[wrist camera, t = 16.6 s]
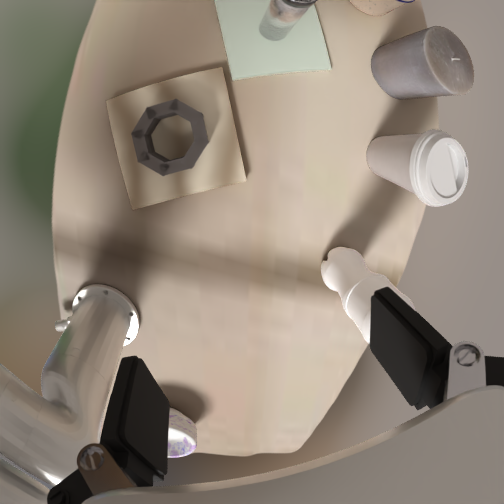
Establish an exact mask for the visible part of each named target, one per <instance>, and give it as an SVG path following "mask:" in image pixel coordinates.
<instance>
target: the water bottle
mask: <svg viewBox="0 0 504 504" xmlns="http://www.w3.org/2000/svg"><path fill="white" fill-rule="evenodd" d="M321 274H322V278H323V280H324V282H325V284H326V285H327V286H328V287H329V288H330V289H332V290H334V291H337V292H338V293H339V295H340V297H341V300H342V304H343V308H344V310H345V312H346V313H347V315H348V316H349V317H350V318H351V319H352V320H353V321H354V322H355V324H356V325H357V327H358V328H359V330H360V331H361V332H362V335H363V337H364V339H365V340H366V341H367V342H368V343H369V344H370V320H371V296H373V295H374V292H375V291H376V290H379V289H381V288H384V287H389V288H391V289H392V290H393V291H394V292H395V293H396V294H397V295H398V296H399V297H401V298H402V299H403V300H404V301H405V302H406V303H407V304H408V305H409V306H410V307H412V308H413V309H414V310H415V311H416V309H415V307H414V305H413V303H412V301H411V300H410V299H409V298H408V297H407V296H406V295H404V294H402V293H401V292H400V291H399V290H398V289H397V288H396V287H395V286H394V285H393V284H392V283H391V282H390V280H389V279H388V278H387V277H386V276H385V275H383V274H377V273H374V272H371V271H370V270H369V269H368V268H367V266H366V263H365V260H364V258H363V257H362V255H361V254H360V253H359V252H357V251H356V250H354V249H351V248H346V247H336V248H334V249H332V250H330V252H329V253H328V260H327V261H323V262H322V264H321Z"/></svg>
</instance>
